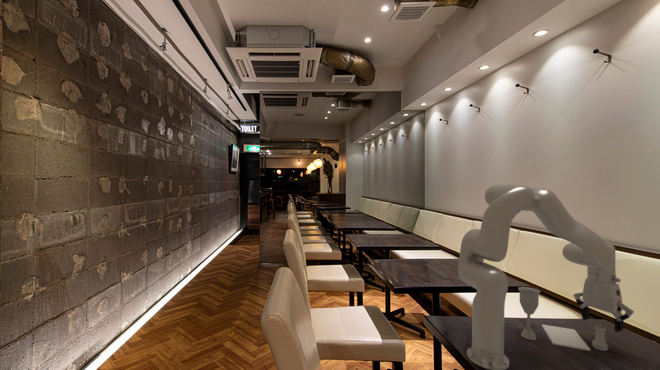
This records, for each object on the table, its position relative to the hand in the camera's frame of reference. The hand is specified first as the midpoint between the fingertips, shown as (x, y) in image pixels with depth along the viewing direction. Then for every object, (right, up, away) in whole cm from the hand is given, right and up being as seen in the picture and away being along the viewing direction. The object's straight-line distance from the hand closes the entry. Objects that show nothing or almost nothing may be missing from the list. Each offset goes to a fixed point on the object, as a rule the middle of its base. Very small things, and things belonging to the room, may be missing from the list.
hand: (601, 324), depth 107 cm
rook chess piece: (-1, -9, 0) cm, 9 cm away
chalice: (-21, -8, +8) cm, 24 cm away
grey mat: (-8, -8, +7) cm, 14 cm away
